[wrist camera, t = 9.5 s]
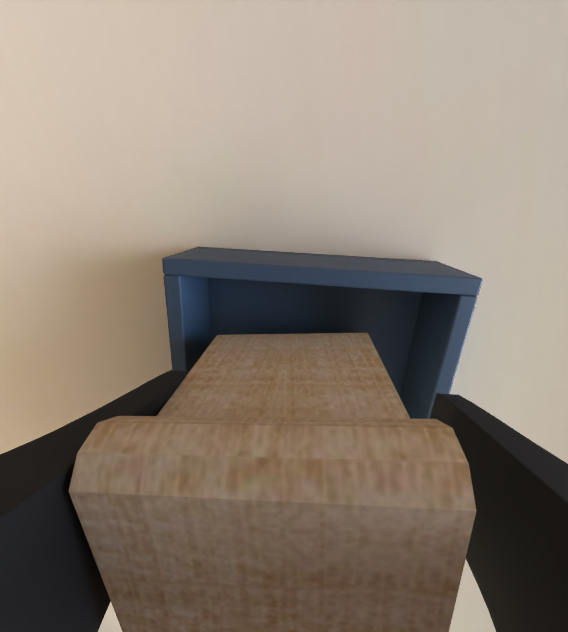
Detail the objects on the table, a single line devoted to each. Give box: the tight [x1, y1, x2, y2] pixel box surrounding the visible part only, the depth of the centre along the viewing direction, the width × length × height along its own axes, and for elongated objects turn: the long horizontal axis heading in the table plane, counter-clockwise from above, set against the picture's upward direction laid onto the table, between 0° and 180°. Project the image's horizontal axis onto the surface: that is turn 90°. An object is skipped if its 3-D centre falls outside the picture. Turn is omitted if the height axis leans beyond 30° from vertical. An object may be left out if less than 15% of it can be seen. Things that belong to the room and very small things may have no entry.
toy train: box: [69, 333, 476, 632], centre depth 11 cm, size 6×17×10 cm, turn 3°
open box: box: [162, 247, 482, 419], centre depth 15 cm, size 20×11×4 cm, turn 177°
